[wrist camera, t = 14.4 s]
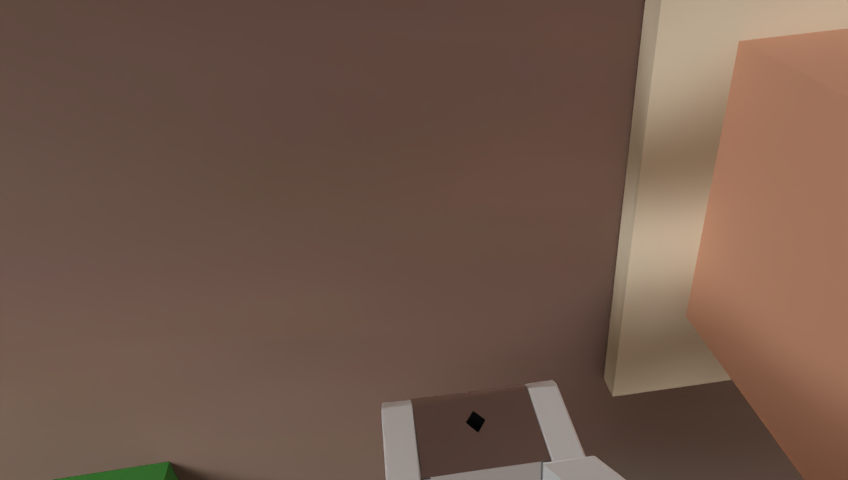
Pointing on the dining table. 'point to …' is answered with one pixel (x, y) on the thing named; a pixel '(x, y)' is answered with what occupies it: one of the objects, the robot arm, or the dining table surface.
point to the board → (681, 177)
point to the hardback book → (133, 473)
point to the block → (783, 245)
